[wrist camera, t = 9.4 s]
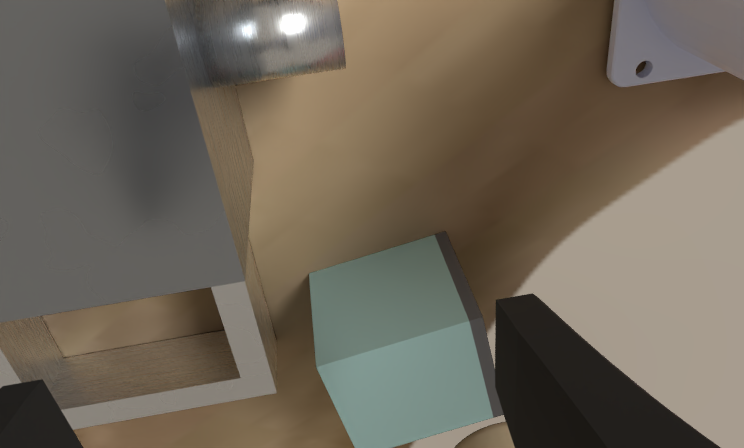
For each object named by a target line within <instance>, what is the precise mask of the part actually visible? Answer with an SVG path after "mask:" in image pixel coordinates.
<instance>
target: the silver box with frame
mask: <svg viewBox="0 0 744 448" xmlns="http://www.w3.org/2000/svg"><path fill="white" fill-rule="evenodd" d="M345 68H346V62H345V51H344V43H343V35H342V28H341V21H340V14H339V8H338V2H337V0H0V388H1V387H2V386H6V385H12V384H18V383H24V382H29V381H35V380H41V379H43V381H44V382H45V384H46V386H47V387H48V389H49V391H50V393H51V394H52V396H53V398H54V399H55V401H56V403H57V404H58V406H59V408H60V409H61V411H62V413H63V414H64V416H65V418H66V419H67V421H68V423H69V424H70V426H71V428H72V430H74V429H80V428H85V427H91V426H96V425H102V424H108V423H113V422H119V421H124V420H130V419H135V418H141V417H147V416H152V415H158V414H163V413H169V412H174V411H180V410H186V409H191V408H197V407H202V406H208V405H213V404H219V403H224V402H230V401H236V400H241V399H247V398H252V397H258V396H263V395H269V394H275V393H277V341H276V337H275V334H274V330H273V326H272V323H271V319H270V315H269V311H268V308H267V304H266V300H265V297H264V293H263V289H262V285H261V282H260V278H259V274H258V271H257V267H256V263H255V259H254V256H253V252H252V248H251V245H250V241H249V237H248V234H249V219H250V205H251V190H252V175H253V157H252V153H251V149H250V145H249V141H248V137H247V133H246V128H245V124H244V120H243V116H242V112H241V108H240V104H239V100H238V96H237V91H236V87H235V85H239V84H246V83H252V82H259V81H266V80H272V79H279V78H285V77H292V76H299V75H305V74H312V73H319V72H325V71H332V70H338V69H345ZM208 287H211V289H212V292H213V295H214V298H215V301H216V304H217V307H218V311H219V314H220V317H221V320H222V323H223V326H224V329H225V330H222V331H217V332H211V333H205V334H199V335H194V336H188V337H182V338H176V339H170V340H165V341H159V342H153V343H147V344H142V345H136V346H130V347H124V348H118V349H113V350H107V351H101V352H95V353H90V354H84V355H78V356H72V357H66V358H63V356H62V354H61V352H60V350H59V349H58V347H57V345H56V343H55V341H54V340H53V338H52V336H51V334H50V332H49V331H48V329H47V327H46V325H45V323H44V321H43V320H42V318H41V316H43V315H49V314H55V313H60V312H66V311H72V310H78V309H84V308H90V307H96V306H102V305H108V304H114V303H120V302H126V301H131V300H137V299H143V298H149V297H155V296H161V295H167V294H173V293H179V292H185V291H191V290H197V289H203V288H208Z"/></svg>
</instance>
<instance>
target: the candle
mask: <svg viewBox="0 0 744 448" xmlns="http://www.w3.org/2000/svg"><path fill="white" fill-rule="evenodd" d="M455 448H515V446H514V444H513V441H512V438H511V435H510V432H509V429H508V426H507V423H506V422H501V423H497V424H493V425H490V426H487V427H484V428H482V429H480V430H477V431H475V432H474V433H472V434H470V435H469V436H467V437H466V438H464V439H463V440H462V441H461V442H459V443H458V444H457V445H456V446H455Z"/></svg>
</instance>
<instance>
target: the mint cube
mask: <svg viewBox="0 0 744 448" xmlns="http://www.w3.org/2000/svg"><path fill="white" fill-rule="evenodd" d="M309 281H310V294H311V307H312V320H313V333H314V347H315V360H316V368H317V370H318V372H319V374H320V376H321V378H322V381H323V383H324V385H325V387H326V389H327V391H328V393H329V395H330V397H331V399H332V401H333V403H334V406H335V408H336V410H337V412H338V414H339V416H340V418H341V420H342V422H343V424H344V426H345V428H346V430H347V433H348V435H349V437H350V439H351V441H352V443H353V445H354V447H355V448H392V447H396V446H399V445H402V444H406V443H409V442H413V441H416V440H419V439H423V438H426V437H430V436H433V435H436V434H440V433H443V432H446V431H450V430H453V429H457V428H460V427H463V426H467V425H470V424H474V423H477V422H480V421H484V420H487V419H490V418H494V417H497V416H501V415H504V413H503V410H502V407H501V404H500V401H499V398H498V394H497V391H496V388H495V368H494V364H493V359H492V355H491V351H490V347H489V342H488V338H487V333H486V329H485V325H484V321H483V317H482V314H481V312H480V310H479V307H478V305H477V303H476V300H475V298H474V296H473V294H472V291H471V289H470V287H469V284H468V282H467V280H466V277H465V275H464V273H463V270H462V268H461V266H460V264H459V261H458V259H457V257H456V254H455V252H454V250H453V247H452V245H451V243H450V241H449V238H448V236H447V234H446V231H445V232H442V233H439V234H435V235H432V236H429V237H426V238H422V239H419V240H416V241H413V242H409V243H406V244H403V245H400V246H396V247H393V248H390V249H387V250H383V251H380V252H377V253H374V254H370V255H367V256H364V257H361V258H357V259H354V260H351V261H348V262H344V263H341V264H338V265H335V266H331V267H328V268H325V269H322V270H319V271H315V272H312V273H309Z"/></svg>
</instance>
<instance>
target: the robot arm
mask: <svg viewBox="0 0 744 448" xmlns="http://www.w3.org/2000/svg"><path fill="white" fill-rule="evenodd" d="M645 60H646V65H645V68H644V69H643V70H642V71H641V72H639V73H637V74H636V68H637V66H638V65H639V64H640V63H641V62H643V61H645ZM719 72H728V73H730V74H732V75H734V76H736V77H738V78H740V79H742V80H744V0H614V8H613V17H612V26H611V35H610V44H609V53H608V62H607V77H608V79H609V80H610V82H612V83H613V84H615V85H617V86H618V87H630V86H636V85H643V84H649V83H656V82H662V81H668V80H675V79H681V78H688V77H694V76H700V75H707V74H713V73H719ZM495 346H496V347H495V349H496V350H495V388H496V391H497V394H498V398H499V401H500V404H501V407H502V410H503V413H504V417H505V420H506V423H507V426H508V429H509V432H510V435H511V438H512V441H513V444H514V446H515V448H720V447H719V446H718V445H716V444H715V443H713V442H712V441H711V440H709V439H708V438H706V437H705V436H704V435H702V434H701V433H699V432H698V431H697V430H695V429H694V428H693V427H691V426H690V425H689V424H687V423H686V422H685V421H683V420H682V419H681V418H679V417H678V416H677V415H675V414H674V413H673V412H671V411H670V410H669V409H667V408H666V407H665V406H664V405H662V404H661V403H660V402H659V401H657V400H656V399H654V398H653V397H652V396H651V395H650V394H648V393H647V392H646V391H645V390H643V389H642V388H641V387H640V386H639V385H637V384H636V383H635V382H634V381H633V380H631V379H630V378H629V377H628V376H626V375H625V374H624V373H623V372H622V371H620V370H619V369H618V368H617V367H615V366H614V365H613V364H612V363H611V362H609V361H608V360H607V359H606V358H605V357H604V356H602V355H601V354H600V353H599V352H598V351H597V350H596V349H595V348H593V347H592V346H591V345H590V344H589V343H588V342H587V341H585V340H584V339H583V338H582V337H581V336H579V335H578V333H576V332H575V331H574V330H573V329H572V328H571V327H570V326H569V325H568V324H566V323H565V322H564V321H563V320H562V319H561V318H560V317H559V316H558V315H557V314H556V313H554V312H553V311H552V310H551V309H550V308H549V307H548V306H547V305H546V304H545V303H544V302H542V301H541V300H540V299H539V298H538V297H537V296H535V295H534V294H527V295H522V296H516V297H510V298H505V299H499V300H496V344H495ZM0 448H83V446H82V445H81V443H80V441H79V440H78V438H77V436H76V435H75V433H74V431H73V430H72V428H71V426H70V424H69V423H68V421H67V419H66V418H65V416H64V414H63V413H62V411H61V409H60V408H59V406H58V404H57V403H56V401H55V399H54V398H53V396H52V394H51V393H50V391H49V389H48V387H47V386H46V384H45V382H44V381H43V379H41V380H35V381H29V382H24V383H18V384H12V385H6V386H2V387H1V388H0Z"/></svg>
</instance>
